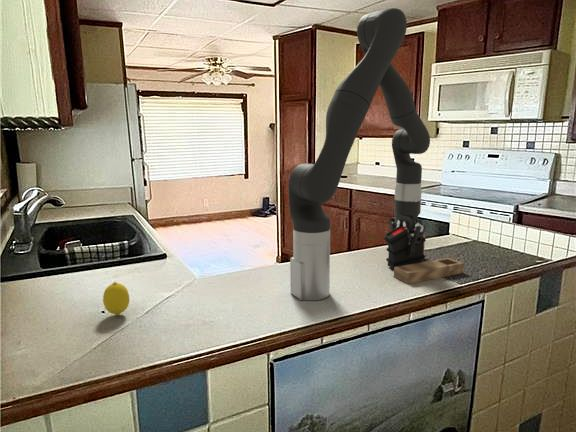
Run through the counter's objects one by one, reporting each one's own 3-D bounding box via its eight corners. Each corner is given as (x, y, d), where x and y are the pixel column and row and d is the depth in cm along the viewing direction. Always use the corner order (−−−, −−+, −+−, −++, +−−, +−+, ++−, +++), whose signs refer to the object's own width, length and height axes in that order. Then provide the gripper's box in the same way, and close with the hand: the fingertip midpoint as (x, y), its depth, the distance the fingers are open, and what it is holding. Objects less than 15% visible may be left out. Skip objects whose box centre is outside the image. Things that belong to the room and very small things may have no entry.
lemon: (103, 322, 94) (99, 287, 92) (106, 312, 99) (103, 279, 98) (129, 318, 95) (126, 285, 94) (131, 309, 101) (128, 277, 99)
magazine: (432, 260, 131) (422, 221, 124) (397, 281, 129) (384, 243, 122) (424, 254, 134) (414, 216, 127) (390, 275, 132) (377, 237, 125)
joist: (407, 283, 115) (408, 273, 115) (393, 277, 121) (394, 267, 120) (463, 272, 124) (464, 263, 123) (448, 267, 129) (448, 257, 128)
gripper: (382, 195, 129) (380, 249, 132) (414, 202, 116) (411, 262, 120) (401, 193, 132) (399, 246, 135) (435, 200, 119) (431, 259, 123)
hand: (404, 253), depth 127 cm, fingers closed on magazine, 4 cm apart
